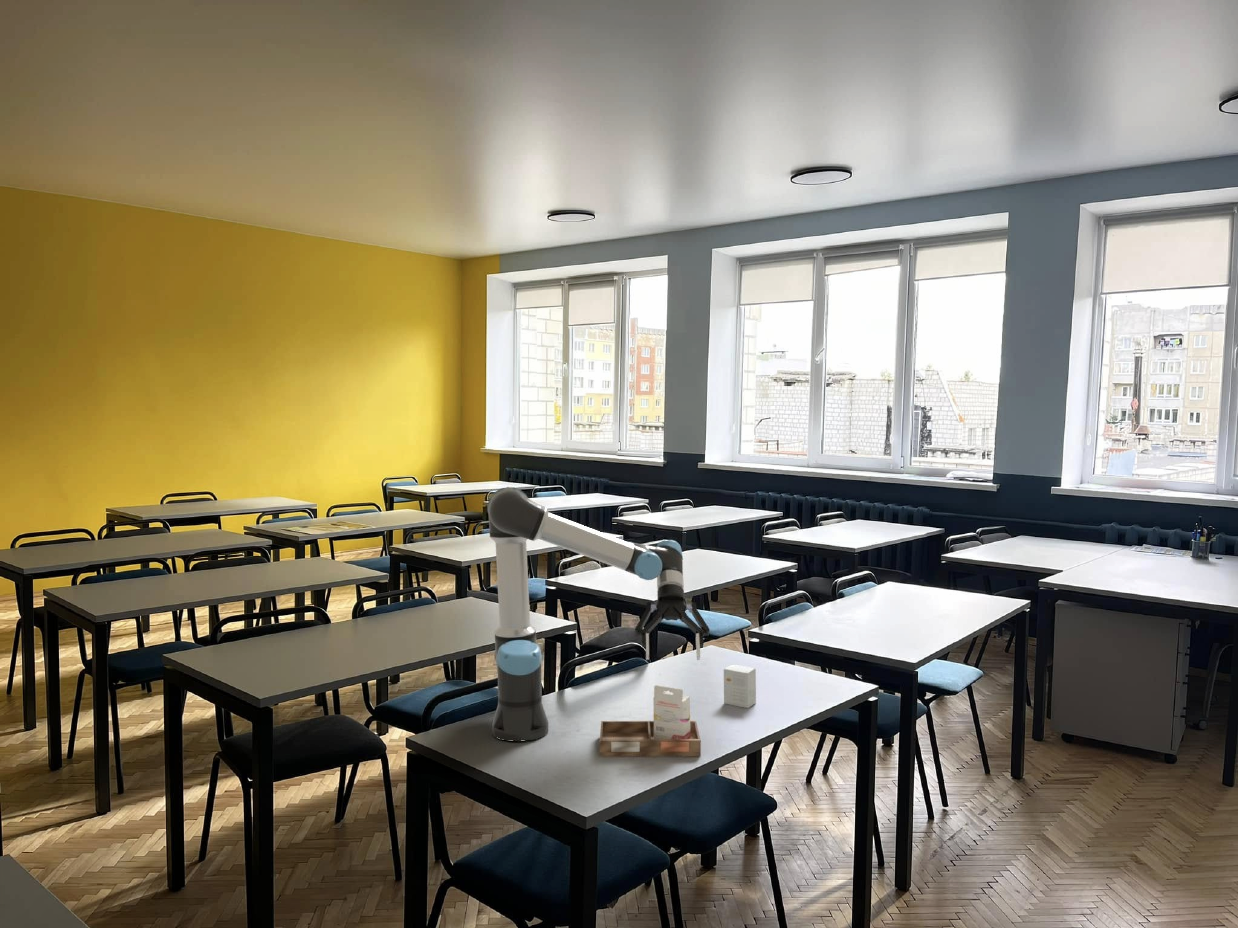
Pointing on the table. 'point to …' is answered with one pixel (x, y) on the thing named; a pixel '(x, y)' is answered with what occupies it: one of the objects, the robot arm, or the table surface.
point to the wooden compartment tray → (644, 740)
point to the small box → (739, 686)
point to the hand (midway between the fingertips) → (673, 657)
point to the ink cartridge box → (671, 714)
